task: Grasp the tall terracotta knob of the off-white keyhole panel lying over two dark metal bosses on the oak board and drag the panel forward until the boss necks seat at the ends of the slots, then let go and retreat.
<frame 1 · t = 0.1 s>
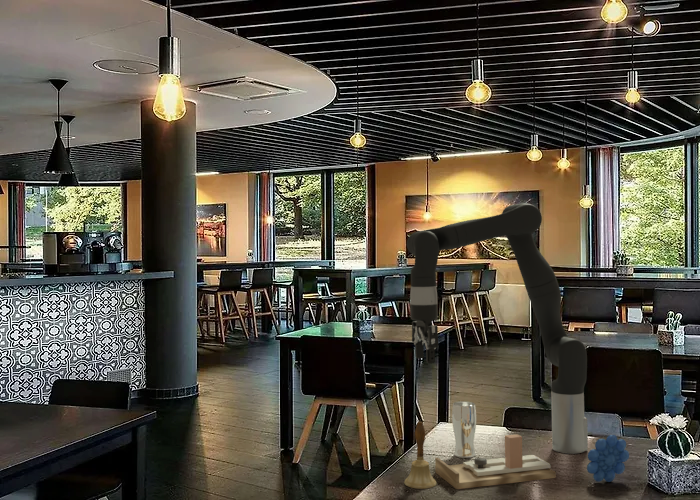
hand: (425, 360, 196), 29 cm above the table, tool pointing down, fingers open, 8 cm apart
beer glass: (464, 455, 205), on the table
boss board: (494, 475, 187), on the table
hand bell: (420, 484, 181), on the table
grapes: (606, 481, 181), on the table
panel: (506, 450, 188), point 6 cm above the table, slide at 0.0 cm
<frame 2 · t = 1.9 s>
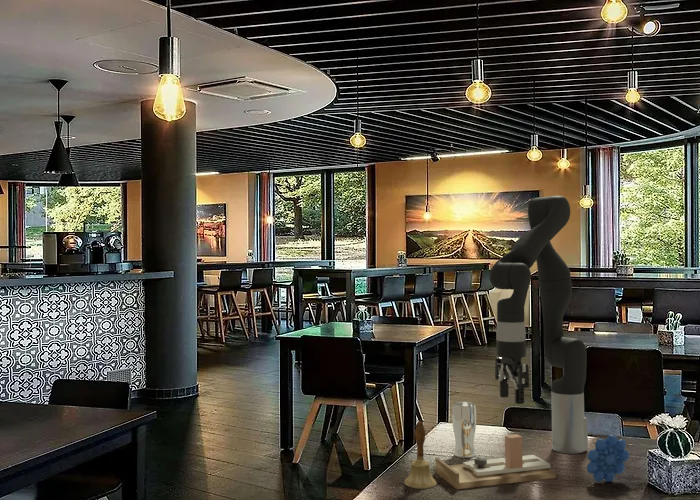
hand: (511, 400, 185), 20 cm above the table, tool pointing down, fingers open, 8 cm apart
nothing on the table moved.
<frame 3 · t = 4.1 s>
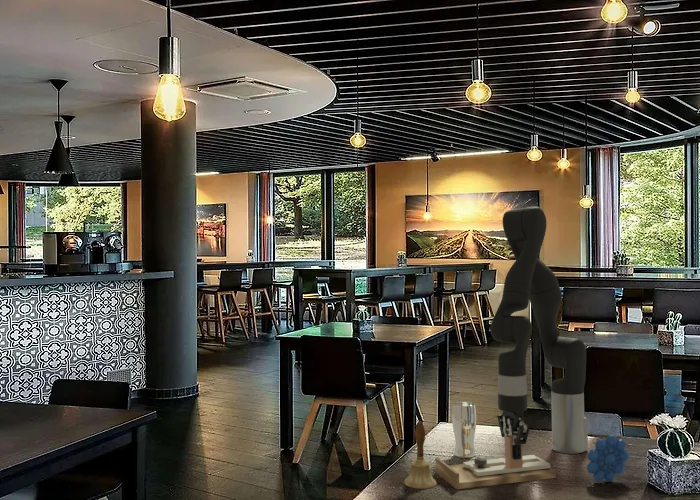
hand: (513, 457, 185), 5 cm above the table, tool pointing down, fingers closed on panel, 2 cm apart
panel: (506, 450, 188), point 6 cm above the table, slide at 0.0 cm, touching gripper
everything else where it was.
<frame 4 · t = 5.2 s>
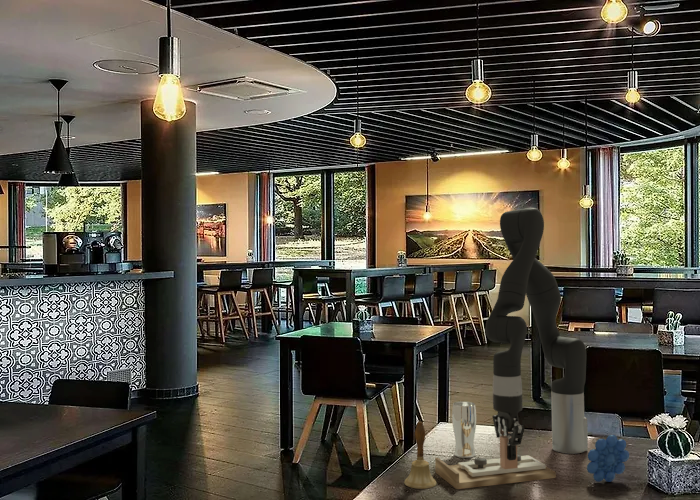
hand: (508, 457, 184), 5 cm above the table, tool pointing down, fingers closed on panel, 2 cm apart
panel: (501, 450, 187), point 6 cm above the table, slide at 1.5 cm, touching gripper
everything else where it was.
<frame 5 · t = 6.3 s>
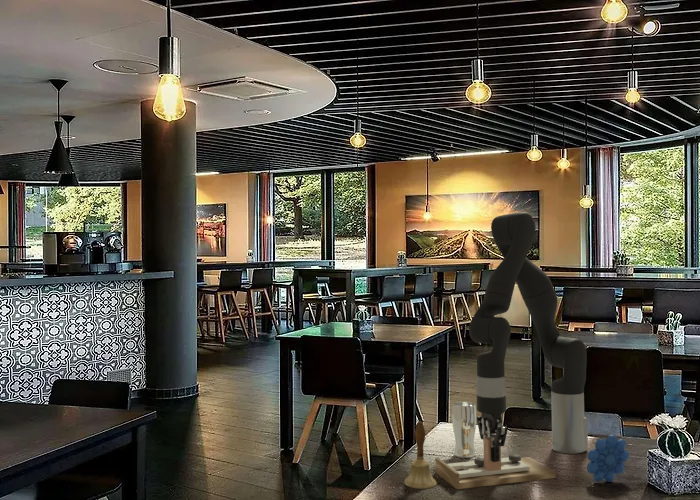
hand: (492, 459, 183), 5 cm above the table, tool pointing down, fingers closed on panel, 2 cm apart
panel: (485, 452, 186), point 6 cm above the table, slide at 6.1 cm, touching gripper
everything else where it was.
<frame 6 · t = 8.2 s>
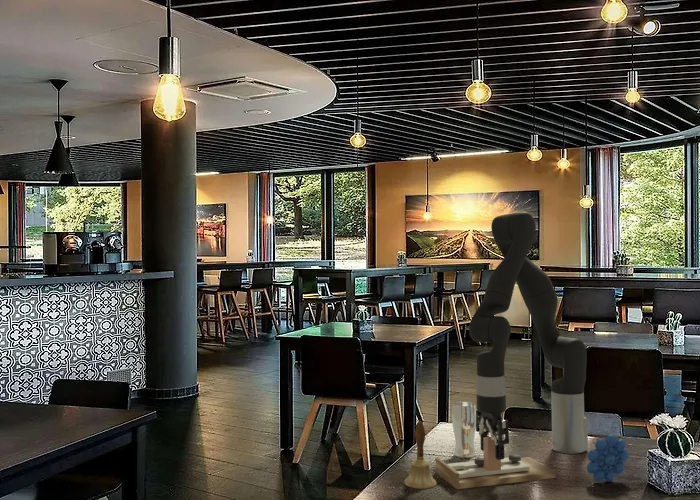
hand: (492, 454, 183), 7 cm above the table, tool pointing down, fingers open, 8 cm apart
panel: (484, 452, 186), point 6 cm above the table, slide at 6.2 cm
everything else where it was.
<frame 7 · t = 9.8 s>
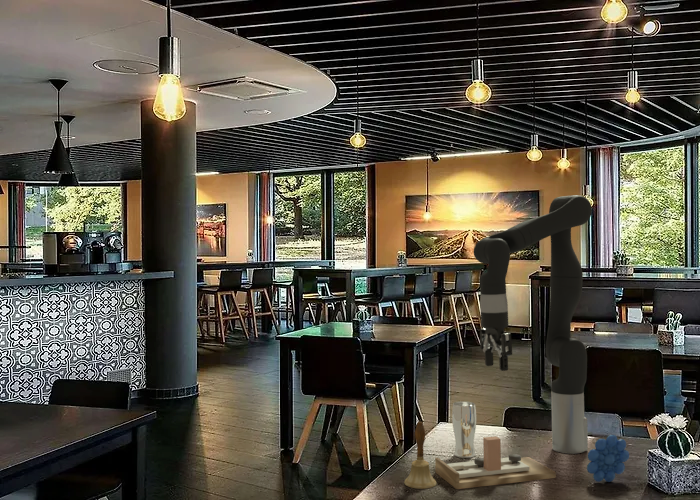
hand: (496, 368, 196), 27 cm above the table, tool pointing down, fingers open, 8 cm apart
nothing on the table moved.
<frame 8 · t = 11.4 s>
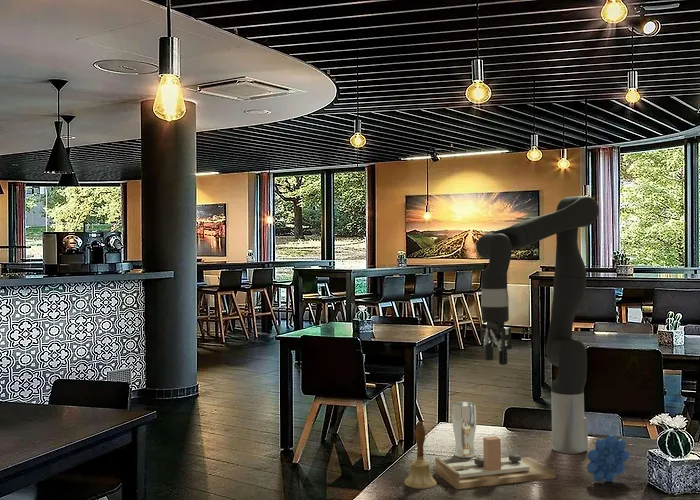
hand: (495, 362, 198), 28 cm above the table, tool pointing down, fingers open, 8 cm apart
nothing on the table moved.
at the end: panel slide at 6.2 cm; the gripper is holding nothing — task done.
